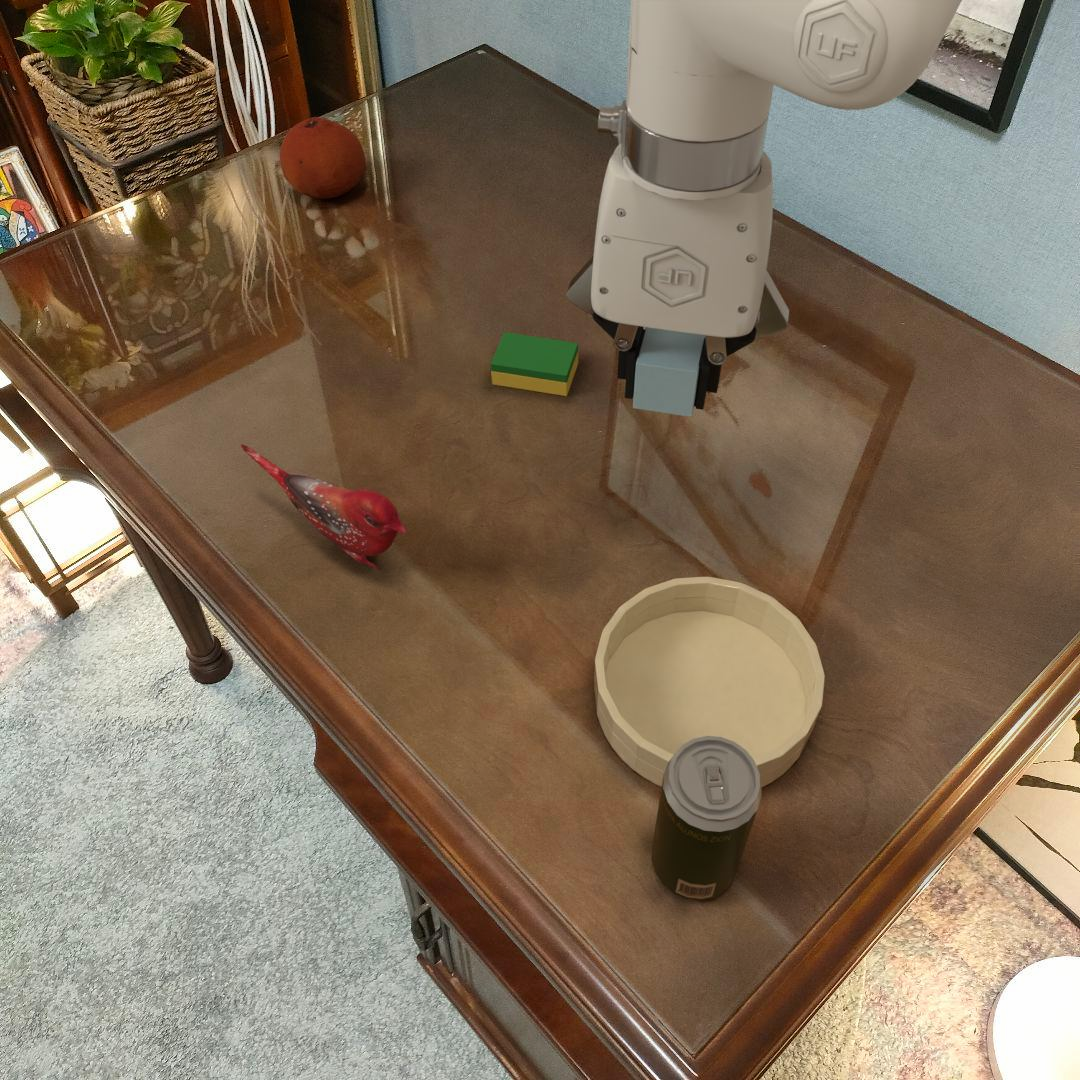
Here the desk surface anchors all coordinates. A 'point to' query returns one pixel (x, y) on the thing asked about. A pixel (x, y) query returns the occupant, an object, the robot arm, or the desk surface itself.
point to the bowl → (706, 675)
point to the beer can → (704, 816)
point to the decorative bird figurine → (340, 511)
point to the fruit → (322, 158)
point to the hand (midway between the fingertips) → (667, 388)
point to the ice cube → (667, 372)
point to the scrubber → (534, 364)
